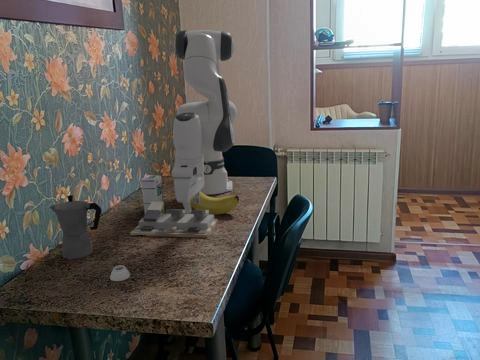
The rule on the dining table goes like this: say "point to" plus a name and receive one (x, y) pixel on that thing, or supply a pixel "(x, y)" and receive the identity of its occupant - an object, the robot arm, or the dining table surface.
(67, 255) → the coffeepot
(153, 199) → the syrup box
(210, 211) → the banana
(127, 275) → the white cup
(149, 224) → the switch housing
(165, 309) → the dining table surface
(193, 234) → the switch board
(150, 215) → the block
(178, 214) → the rocker
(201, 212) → the rocker
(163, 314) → the dining table surface
